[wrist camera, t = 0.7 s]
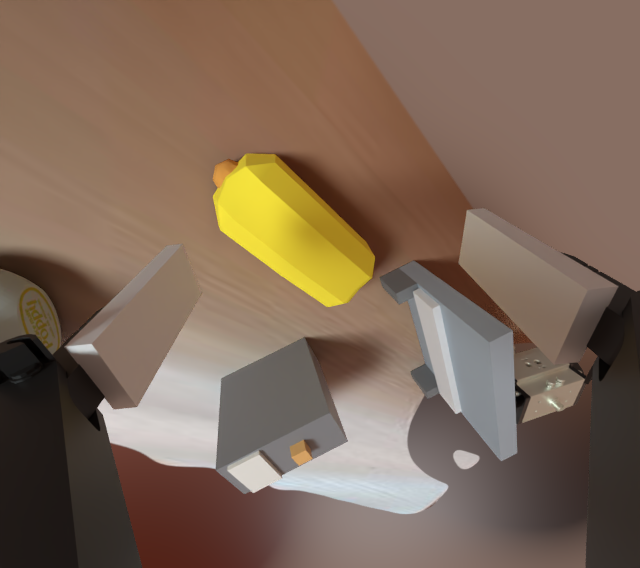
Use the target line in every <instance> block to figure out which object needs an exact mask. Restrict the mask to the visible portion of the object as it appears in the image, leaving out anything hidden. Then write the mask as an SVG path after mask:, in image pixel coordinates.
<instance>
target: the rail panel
mask: <svg viewBox="0 0 640 568" xmlns="http://www.w3.org/2000/svg"><path fill="white" fill-rule="evenodd" d="M380 280H381V283H382V286H383V288H384V289H385V290H386V291H387V292H388V293H389V294H390V295H391V296H392V297H393V299H394V300H395V301H396V302H397V303H398V304H401V303H403V302H405V301H407V300H408V303H409V306H410V310H411V314H412V317H413V321H414V324H415V328H416V331H417V335H418V339H419V342H420V346H421V349H422V353H423V357H424V360H425V365H423V366H421V367H419V368H417V369H415V370H413V371H411V375H412V378H413V379H414V381H415V382H416V383H417V385H418V386H419V387H420V389H421V390H422V392H423V393H424V394H425V396H426V397H427V398H428V399H429V398H431V397H433V396H435V395H437V394H439V393H440V394H441V396H442V397H443V398H444V399H445V401H446V402H447V403H448V404H449V406H450V407H451V408H452V409H453V411H454V412H455V413H456V414H457V413H459V412H462V414H463V415H464V416H465V417H466V419H467V420H468V421H469V422H470V424H471V425H472V426H473V427H474V429H475V430H476V431H477V432H478V434H480V436H481V437H482V439H483V440H484V441H485V442H486V443H487V445H488V446H489V447H490V448H491V450H492V451H493V452H494V453H495V455H496V456H497V457H498V458H499V459H500V461H503V460H505V459H506V458H508V457H510V456H512V455H514V454H516V453H517V435H516V405H515V377H514V349H513V330H511V329H510V328H508V327H507V326H506V325H504V324H503V323H501V322H500V321H499V320H497V319H496V318H494V317H493V316H492V315H490V314H489V313H487V312H486V311H485V310H483V309H482V308H480V307H479V306H477V305H476V304H475V303H473V302H472V301H470V300H469V299H468V298H466V297H465V296H463V295H462V294H461V293H459V292H458V291H456V290H455V289H453V288H452V287H451V286H449V285H448V284H446V283H445V282H444V281H442V280H441V279H439V278H438V277H437V276H435V275H434V274H432V273H431V272H430V271H428V270H427V269H425V268H424V267H422V266H421V265H420V264H418V263H417V262H415V261H412V262H410V263H408V264H406V265H404V266H402V267H400V268H398V269H396V270H394V271H392V272H390V273H388V274H386V275H384V276H382V277H380Z"/></svg>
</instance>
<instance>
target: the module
mask: <svg viewBox="0 0 640 568" xmlns="http://www.w3.org/2000/svg"><path fill="white" fill-rule="evenodd" d="M347 441H348V440H347V438H346V435H345V432H344V429H343V427H342V424H341V421H340V418H339V416H338V413H337V410H336V407H335V405H334V402H333V399H332V396H331V394H330V391H329V388H328V385H327V383H326V380H325V377H324V374H323V371H322V369H321V366H320V363H319V362H318V360H317V358H316V356H315V355H314V353H313V351H312V349H311V348H310V346H309V344H308V342H307V341H306V339H305V337H304V338H302V339H300V340H298V341H296V342H294V343H292V344H290V345H288V346H286V347H284V348H282V349H280V350H278V351H276V352H274V353H272V354H270V355H268V356H266V357H264V358H262V359H260V360H258V361H256V362H253V363H251V364H249V365H247V366H245V367H243V368H241V369H239V370H237V371H235V372H233V373H231V374H229V375H227V376H225V377H223V378H222V379H221V395H220V411H219V427H218V443H217V459H216V471H217V472H218V473H219V474H221V475H222V476H223V477H225V478H226V479H227V480H228V481H229V482H230V483H232V484H233V485H234V486H235V487H237V488H238V489H239V490H240V491H241V492H243V493H244V494H246V493H248V492H250V491H252V492H253V493H254V492H256V491H258V490H260V489H262V488H264V487H266V486H268V485H270V484H272V483H274V482H276V481H278V480H279V479H281V478H282V475H283V474H285V473H287V472H289V471H291V470H293V469H295V468H297V467H299V466H301V465H303V464H304V463H306V462H308V461H310V460H312V459H314V458H316V457H318V456H320V455H322V454H324V453H326V452H328V451H330V450H332V449H334V448H336V447H338V446H340V445H342V444H344V443H346V442H347Z"/></svg>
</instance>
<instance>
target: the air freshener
mask: <svg viewBox="0 0 640 568" xmlns="http://www.w3.org/2000/svg"><path fill="white" fill-rule="evenodd" d="M26 334H34V335H36V336H37V337H38V338H39V339H40V341H41V342H42V343H43V344H44V345H45V347H46V348H47V349H48V350H49V351H50V353H51V354H52V355H53V354H54V353H55V352H56V351H57V350H58V349H59V348H60V347H61V328H60V323H59V319H58V315H57V312H56V310H55V308H54V305H53V303H52V302H51V300H50V298H49V297H48V295H47V294H46V293H45V292H44V291H43V290H42V289H41V288H40V287H38V286H37V285H36V284H34V283H32V282H31V281H29V280H27V279H25V278H24V277H21V276H19V275H17V274H14V273H12V272H9V271H6V270H3V269H0V343H1V342H3V341H6V340H8V339H11V338H14V337H17V336H20V335H26Z"/></svg>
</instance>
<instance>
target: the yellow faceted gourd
mask: <svg viewBox="0 0 640 568" xmlns="http://www.w3.org/2000/svg"><path fill="white" fill-rule="evenodd" d="M213 181H214V183H215V184H216V186H217V187H218V189H217V190H216V192H215V194H214V195H213V200H214V205H215V210H216V215H217V220H218V225H219V227H220V230H221V231H222V232H223V233H225V234H226V235H227V236H229V237H230V238H231V239H233V240H234V241H235V242H237V243H238V244H239V245H241V246H242V247H243V248H245V249H246V250H247V251H249V252H250V253H252V254H253V255H254V256H256V257H257V258H258V259H260V260H261V261H262V262H264V263H265V264H266V265H268V266H269V267H270V268H272V269H273V270H274V271H276V272H277V273H278V274H280V275H281V276H282V277H284V278H285V279H287V280H288V281H290V282H291V283H293V284H294V285H296V286H297V287H299V288H300V289H302V290H303V291H304V292H306V293H307V294H309V295H310V296H312V297H313V298H315V299H316V300H318V301H319V302H321V303H322V304H324V305H325V306H326V307H331V306H335V305H339V304H344V303H348V302H349V301H350V300H351V299H352V297H353V296H354V295H355V294H356V293H357V291H358V290H359V289H360V288H361V287H362V286H363V285H365V284H366V283H367V282H368V281H369V280H370V279H372V276H373V269H374V262H375V256H374V254H373V253H372V251H371V249H370V247H369V246H368V244H367V242H366V241H365V240H364V239H363V238H362V237H361V236H360V235H358V234H357V233H356V232H355V231H354V230H353V229H352V228H351V227H350V226H349V225H348V224H347V223H346V222H345V221H344V220H343V219H342V218H341V217H340V216H339V215H338V214H337V213H336V212H335V211H334V210H333V209H332V208H331V207H330V206H329V205H328V204H327V203H326V202H324V201H323V200H322V199H321V198H320V197H319V196H318V195H317V194H316V193H315V192H314V191H313V190H312V189H311V188H310V187H309V186H308V185H307V184H306V183H305V182H304V181H303V180H302V179H300V178H299V177H298V176H297V175H296V174H295V173H294V172H293V171H292V170H291V169H290V168H289V167H288V166H287V165H286V164H285V163H284V162H283V161H282V160H281V159H280V158H279V157H278V156H277V155H275V154H245V155H244V157H243V158H242V159H241V160H240V161H239V162H235V161H233V160H230V159H227V160H225V161H223V162H221V163H219V164H217V165H215V171H214V176H213Z"/></svg>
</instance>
